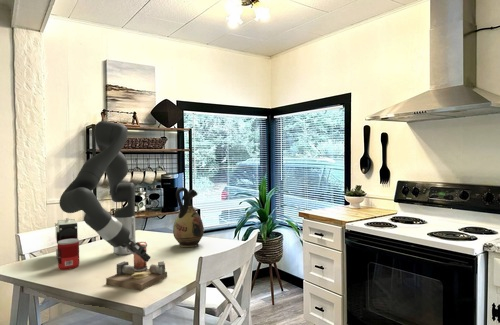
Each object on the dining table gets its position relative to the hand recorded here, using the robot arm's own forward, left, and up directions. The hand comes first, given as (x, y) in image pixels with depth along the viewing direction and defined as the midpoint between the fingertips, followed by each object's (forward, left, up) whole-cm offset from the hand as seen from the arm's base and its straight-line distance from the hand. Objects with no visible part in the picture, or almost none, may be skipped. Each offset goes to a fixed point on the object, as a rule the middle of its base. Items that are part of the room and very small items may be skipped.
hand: (144, 258), depth 128 cm
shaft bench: (-2, -2, -8) cm, 8 cm away
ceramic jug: (-13, +47, -8) cm, 50 cm away
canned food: (-40, 0, -8) cm, 41 cm away
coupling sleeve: (-1, -2, -4) cm, 5 cm away
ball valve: (-54, +10, -8) cm, 56 cm away
